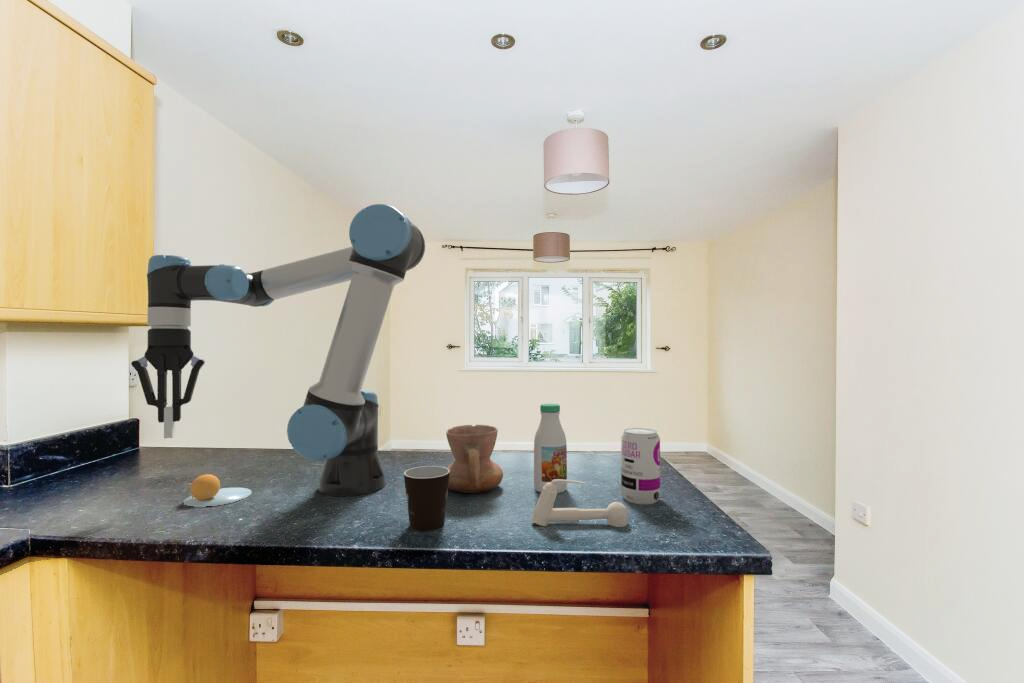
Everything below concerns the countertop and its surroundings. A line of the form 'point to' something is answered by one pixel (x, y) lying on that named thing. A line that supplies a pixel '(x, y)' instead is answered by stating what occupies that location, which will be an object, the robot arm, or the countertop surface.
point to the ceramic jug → (473, 459)
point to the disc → (220, 497)
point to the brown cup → (426, 496)
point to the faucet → (574, 509)
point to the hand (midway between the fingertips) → (169, 436)
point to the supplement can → (640, 466)
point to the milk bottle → (550, 449)
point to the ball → (205, 487)
